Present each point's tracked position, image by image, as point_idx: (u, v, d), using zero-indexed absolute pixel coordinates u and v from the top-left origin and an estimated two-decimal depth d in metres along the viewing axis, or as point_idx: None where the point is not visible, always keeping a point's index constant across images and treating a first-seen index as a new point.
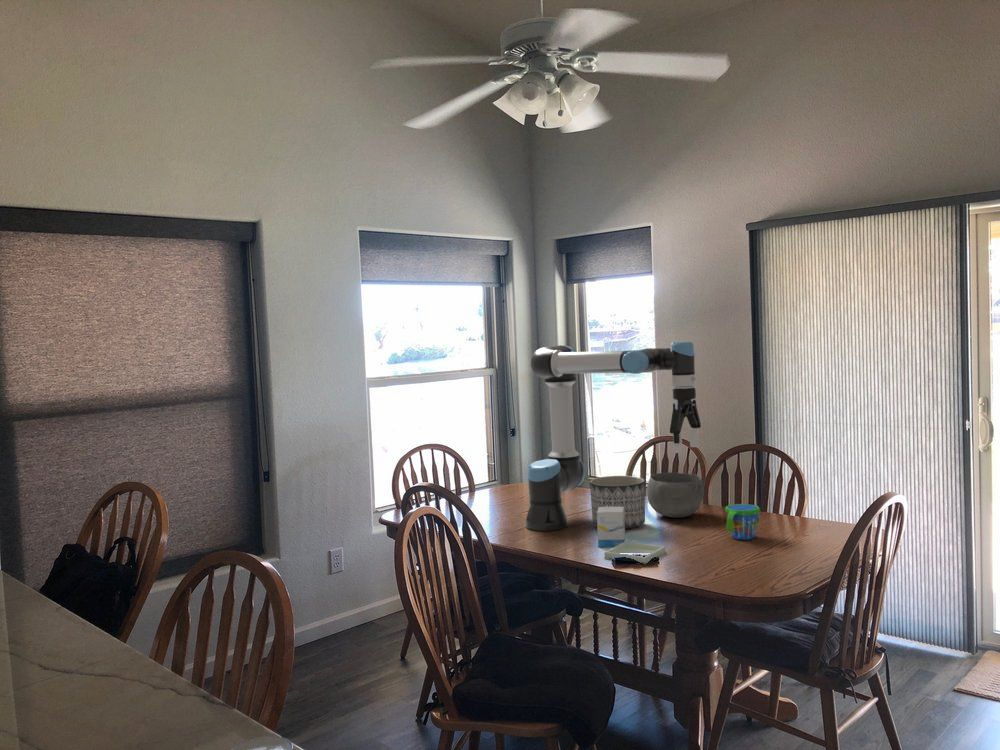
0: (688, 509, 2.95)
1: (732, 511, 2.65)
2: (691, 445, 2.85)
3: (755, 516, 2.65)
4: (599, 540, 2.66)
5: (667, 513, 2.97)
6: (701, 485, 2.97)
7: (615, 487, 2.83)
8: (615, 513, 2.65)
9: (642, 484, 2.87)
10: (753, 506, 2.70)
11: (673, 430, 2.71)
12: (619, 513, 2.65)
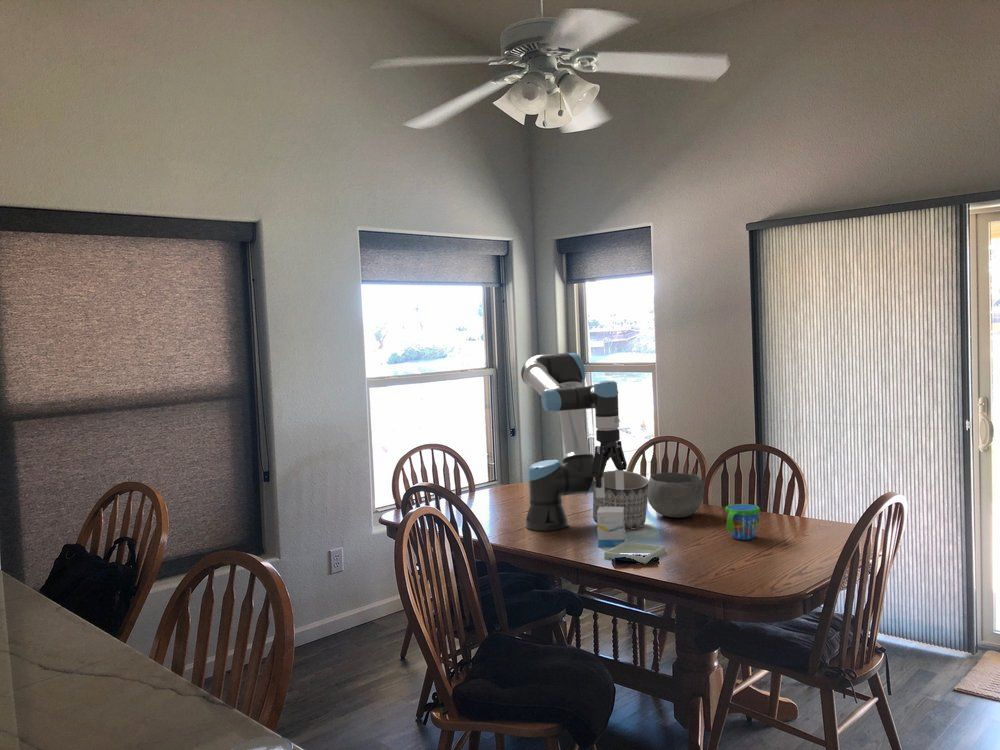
0: (688, 509, 2.95)
1: (732, 511, 2.65)
2: (617, 488, 2.75)
3: (755, 516, 2.65)
4: (599, 540, 2.66)
5: (667, 513, 2.97)
6: (701, 485, 2.97)
7: (619, 490, 2.80)
8: (615, 513, 2.65)
9: (646, 487, 2.84)
10: (753, 506, 2.70)
11: (594, 474, 2.60)
12: (619, 513, 2.65)
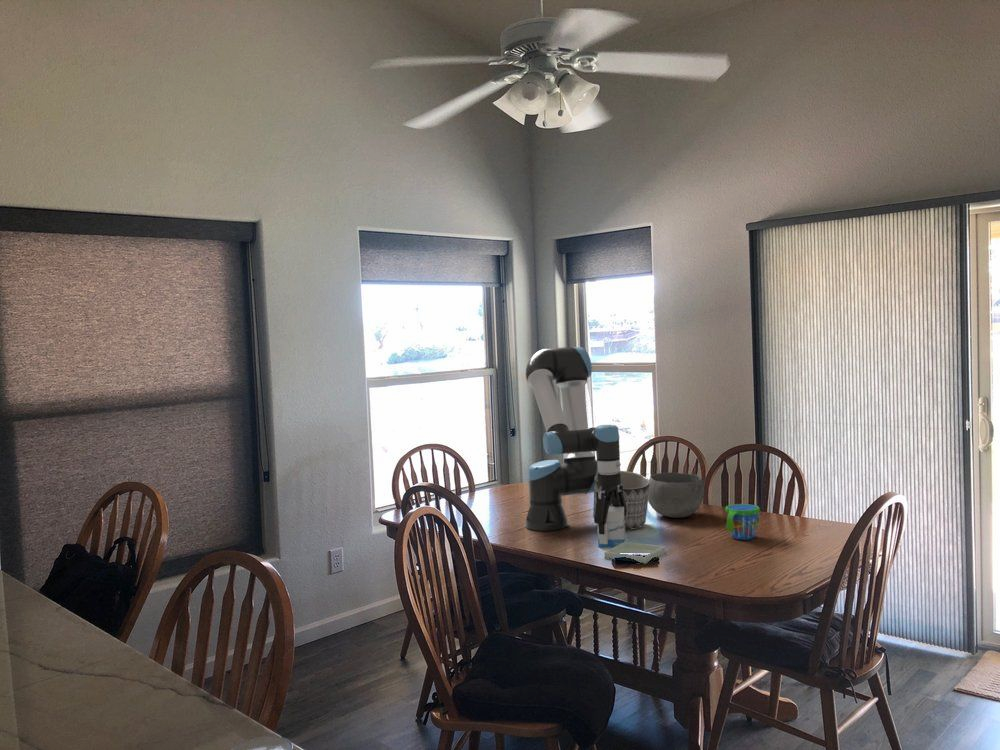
0: (688, 509, 2.95)
1: (732, 511, 2.65)
2: None
3: (755, 516, 2.65)
4: None
5: (667, 513, 2.97)
6: (701, 485, 2.97)
7: None
8: (615, 513, 2.65)
9: (647, 487, 2.85)
10: (753, 506, 2.70)
11: (597, 521, 2.62)
12: (619, 513, 2.65)
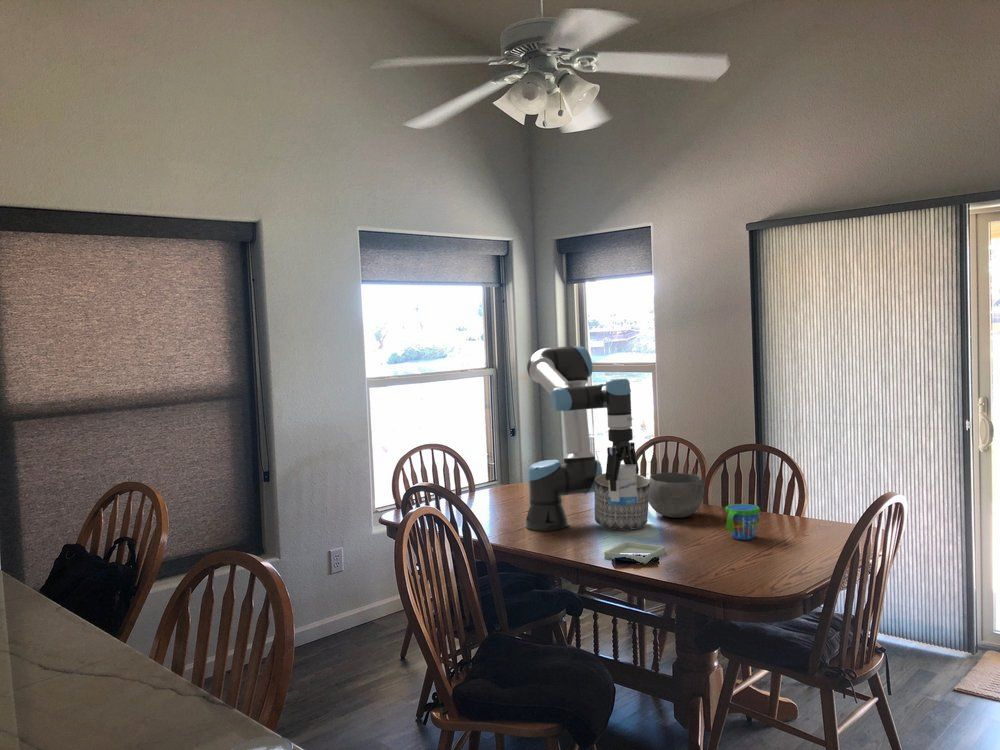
0: (688, 509, 2.95)
1: (732, 511, 2.65)
2: None
3: (755, 516, 2.65)
4: (610, 498, 2.56)
5: (667, 513, 2.97)
6: (701, 485, 2.97)
7: None
8: (627, 469, 2.55)
9: (647, 487, 2.85)
10: (753, 506, 2.70)
11: (609, 477, 2.52)
12: (631, 469, 2.55)
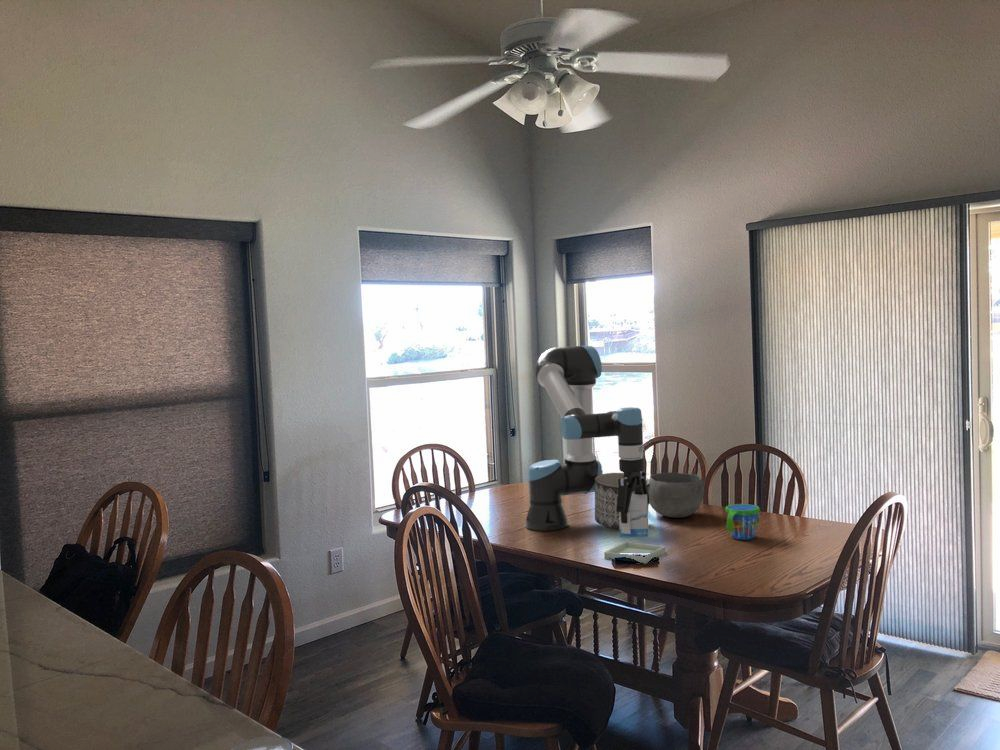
0: (688, 509, 2.95)
1: (732, 511, 2.65)
2: None
3: (755, 516, 2.65)
4: None
5: (667, 513, 2.97)
6: (701, 485, 2.97)
7: None
8: (638, 501, 2.50)
9: (647, 486, 2.85)
10: (753, 506, 2.70)
11: (620, 510, 2.47)
12: (642, 501, 2.49)
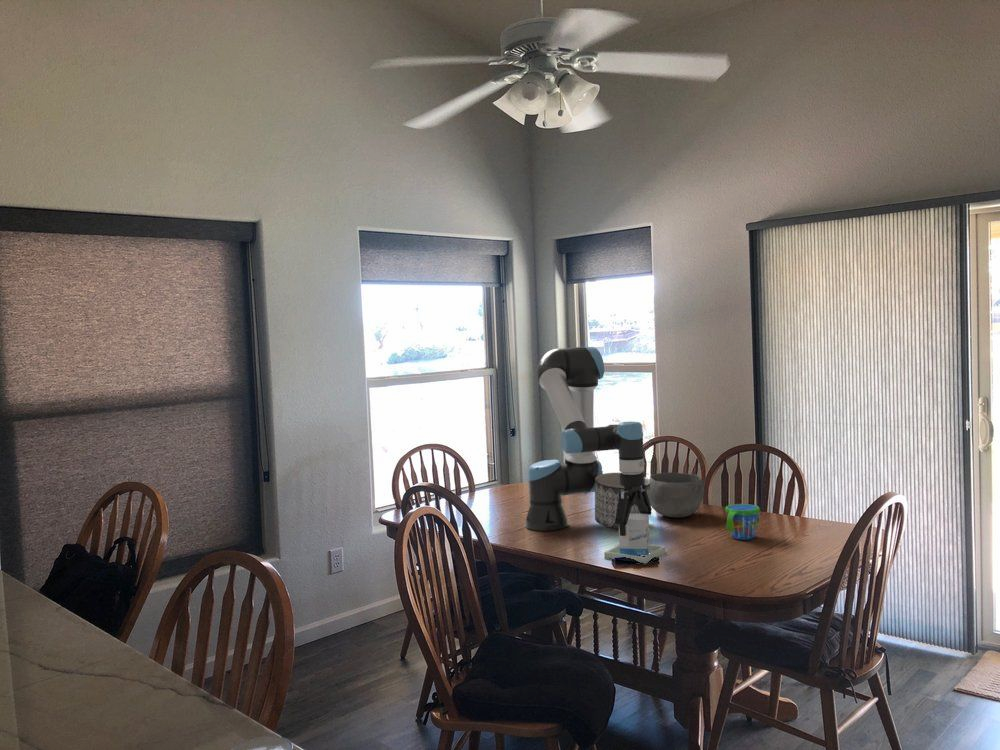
0: (688, 509, 2.95)
1: (732, 511, 2.65)
2: None
3: (755, 516, 2.65)
4: (621, 549, 2.52)
5: (667, 513, 2.97)
6: (701, 485, 2.97)
7: (619, 489, 2.81)
8: (638, 521, 2.50)
9: (647, 487, 2.85)
10: (753, 506, 2.70)
11: (618, 522, 2.46)
12: (642, 521, 2.50)
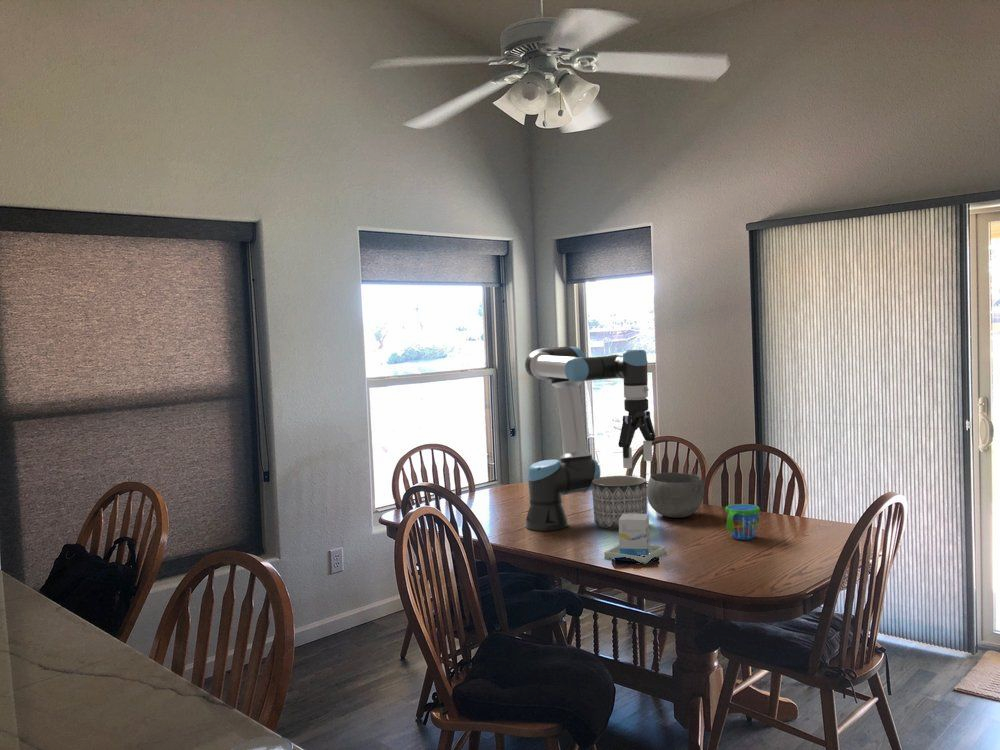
0: (688, 509, 2.95)
1: (732, 511, 2.65)
2: (645, 459, 2.70)
3: (755, 516, 2.65)
4: (621, 549, 2.52)
5: (667, 513, 2.97)
6: (701, 485, 2.97)
7: (615, 487, 2.83)
8: (638, 521, 2.50)
9: (643, 484, 2.86)
10: (753, 506, 2.70)
11: (622, 444, 2.55)
12: (642, 521, 2.50)
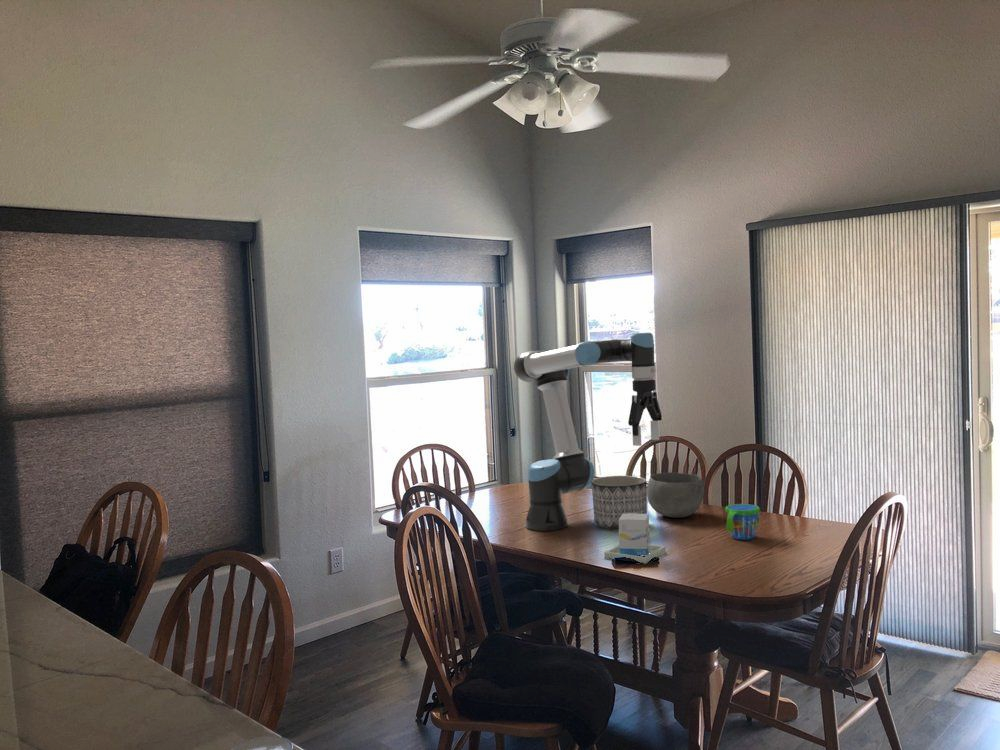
0: (688, 509, 2.95)
1: (732, 511, 2.65)
2: (652, 438, 2.81)
3: (755, 516, 2.65)
4: (621, 549, 2.52)
5: (667, 513, 2.97)
6: (701, 485, 2.97)
7: (615, 487, 2.83)
8: (638, 521, 2.50)
9: (643, 484, 2.86)
10: (753, 506, 2.70)
11: (632, 422, 2.67)
12: (642, 521, 2.50)
